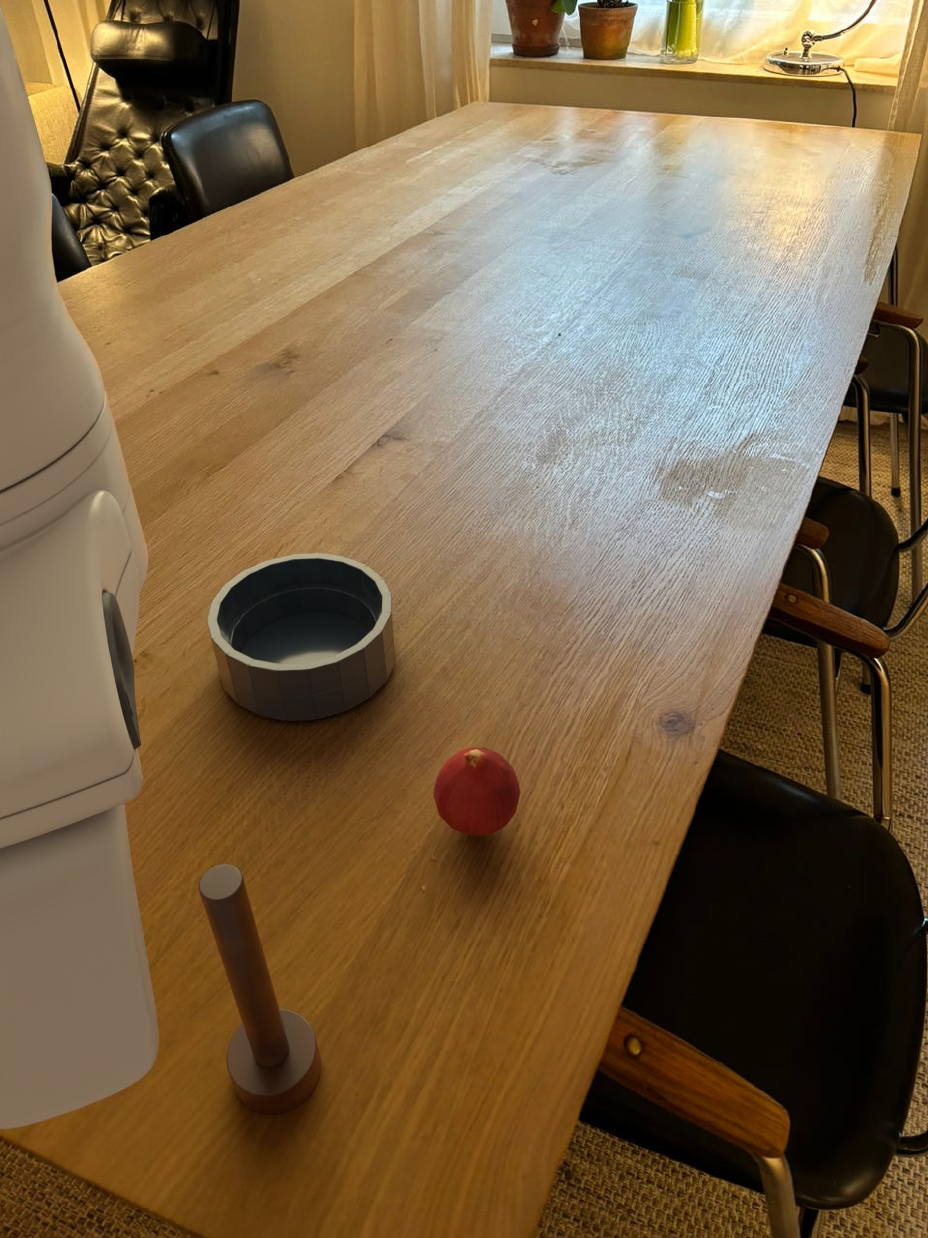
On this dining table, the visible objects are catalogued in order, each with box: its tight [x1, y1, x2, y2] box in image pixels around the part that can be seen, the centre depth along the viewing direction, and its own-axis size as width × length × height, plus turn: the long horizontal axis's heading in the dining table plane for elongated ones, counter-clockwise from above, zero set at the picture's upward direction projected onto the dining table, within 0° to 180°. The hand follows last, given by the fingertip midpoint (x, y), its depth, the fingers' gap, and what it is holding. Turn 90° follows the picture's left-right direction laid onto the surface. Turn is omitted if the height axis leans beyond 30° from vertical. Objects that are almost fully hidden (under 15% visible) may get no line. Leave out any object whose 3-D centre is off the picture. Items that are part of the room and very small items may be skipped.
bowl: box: [206, 552, 397, 722], centre depth 81 cm, size 15×15×6 cm
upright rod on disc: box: [198, 863, 322, 1115], centre depth 51 cm, size 5×5×18 cm
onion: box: [433, 747, 521, 837], centre depth 67 cm, size 6×6×8 cm
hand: (89, 891), depth 32 cm, fingers open, 8 cm apart
